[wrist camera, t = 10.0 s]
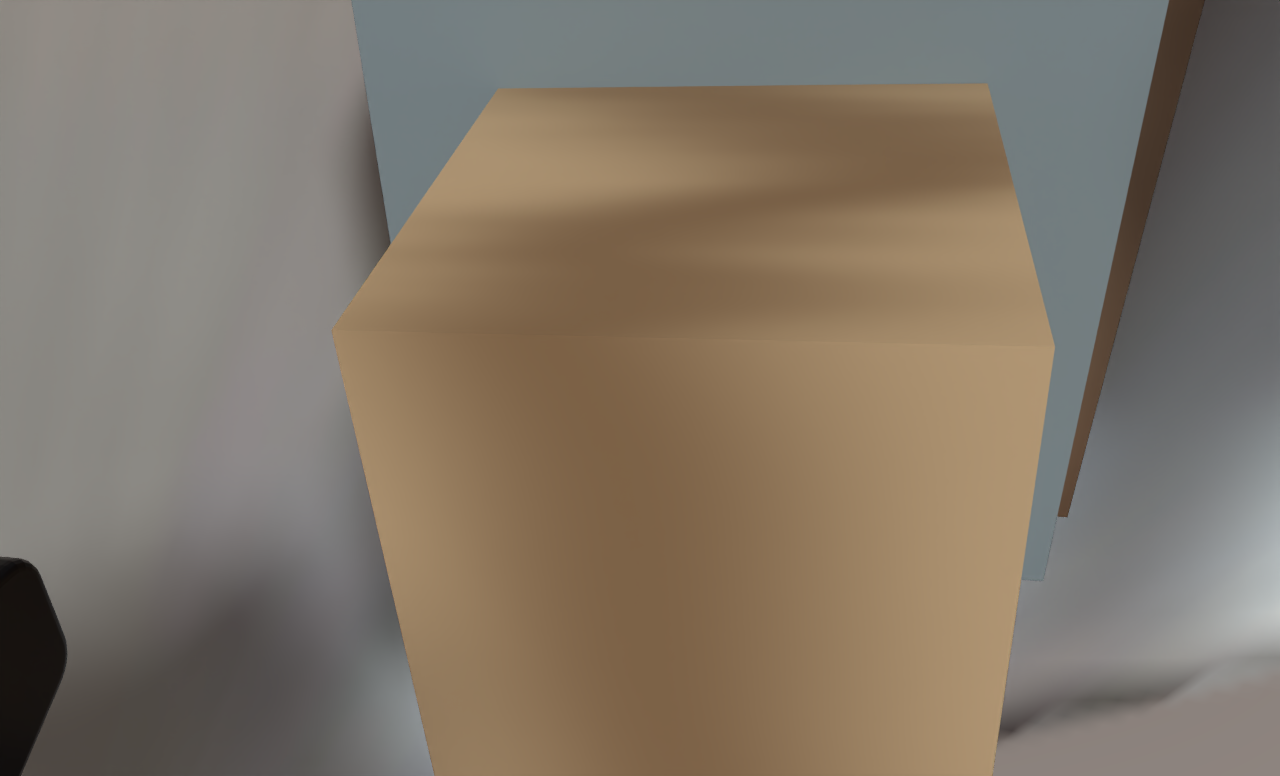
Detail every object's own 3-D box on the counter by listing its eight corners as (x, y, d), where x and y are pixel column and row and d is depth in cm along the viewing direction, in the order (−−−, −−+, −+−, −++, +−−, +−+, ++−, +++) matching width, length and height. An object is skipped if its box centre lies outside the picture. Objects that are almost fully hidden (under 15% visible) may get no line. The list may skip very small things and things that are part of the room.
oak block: (986, 83, 12) (1055, 346, 8) (948, 482, 15) (984, 832, 11) (498, 88, 13) (331, 330, 9) (546, 466, 16) (436, 787, 12)
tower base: (1193, -239, 15) (1257, -199, 13) (1042, 404, 21) (1067, 517, 19) (427, -258, 17) (353, -223, 14) (478, 357, 22) (433, 458, 20)
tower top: (1122, -135, 14) (1182, -64, 11) (1016, 440, 18) (1043, 580, 16) (425, -136, 15) (340, -70, 12) (490, 409, 19) (437, 537, 17)
